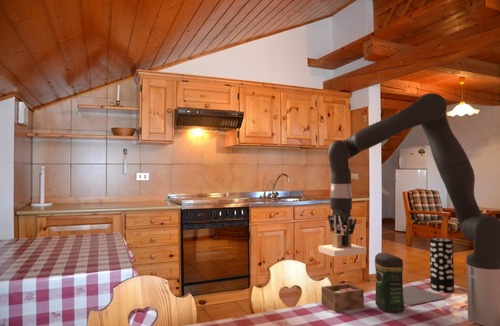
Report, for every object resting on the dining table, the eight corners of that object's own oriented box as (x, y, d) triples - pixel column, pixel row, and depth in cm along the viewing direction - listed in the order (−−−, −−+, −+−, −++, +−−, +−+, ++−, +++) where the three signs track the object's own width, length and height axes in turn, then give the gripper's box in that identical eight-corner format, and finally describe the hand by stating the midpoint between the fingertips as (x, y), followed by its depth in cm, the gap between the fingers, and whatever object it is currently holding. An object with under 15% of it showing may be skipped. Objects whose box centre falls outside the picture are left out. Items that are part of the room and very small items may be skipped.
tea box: (348, 299, 125) (348, 282, 125) (363, 306, 118) (363, 289, 118) (321, 303, 120) (321, 286, 121) (335, 312, 113) (335, 293, 113)
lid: (348, 248, 127) (348, 231, 127) (366, 253, 118) (365, 234, 119) (318, 251, 122) (318, 233, 122) (334, 256, 113) (334, 237, 113)
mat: (412, 287, 139) (412, 286, 139) (445, 298, 126) (445, 297, 126) (378, 292, 132) (378, 291, 133) (410, 305, 119) (410, 304, 119)
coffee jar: (408, 313, 112) (407, 257, 113) (385, 314, 111) (384, 257, 112) (393, 303, 121) (392, 250, 122) (372, 303, 121) (371, 251, 122)
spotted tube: (454, 294, 131) (452, 242, 132) (429, 290, 135) (428, 240, 136) (454, 288, 138) (453, 239, 139) (431, 285, 142) (430, 237, 143)
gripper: (320, 195, 126) (321, 242, 125) (345, 197, 113) (346, 249, 112) (337, 195, 129) (338, 241, 128) (362, 197, 116) (363, 248, 115)
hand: (341, 244), depth 120 cm, fingers closed on lid, 3 cm apart
